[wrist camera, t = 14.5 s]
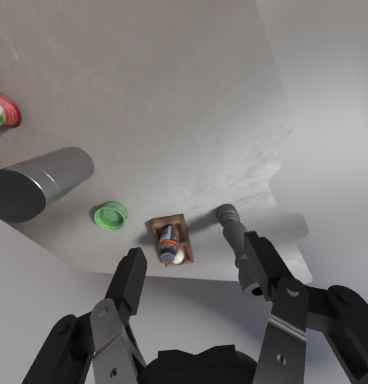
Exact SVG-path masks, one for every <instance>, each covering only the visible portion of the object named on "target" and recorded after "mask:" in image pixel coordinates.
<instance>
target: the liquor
mask: <svg viewBox="0 0 368 384" xmlns="http://www.w3.org/2000/svg"><path fill="white" fill-rule="evenodd" d="M20 119H21V116H20V112H19V110H18V108H17V106H16V105H15V103H14V102H13V101H12V100H11V99H10V98H8V97H7V96H5V95H3V94H1V93H0V126H2V125H5V126H10V127H14V126H16V125H18V124H19V122H20Z"/></svg>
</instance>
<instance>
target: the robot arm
mask: <svg viewBox="0 0 368 384" xmlns="http://www.w3.org/2000/svg"><path fill="white" fill-rule="evenodd" d="M93 171H94V165H93V162H92V160H91V158H90V157H89V156H88V154H86V153H85V152H84V151H82V150H81V149H79V148H75V147H66V148H63V149H60V150H57V151H54V152H51V153H48V154H45V155H42V156H39V157H36V158H33V159H30V160H27V161H24V162H21V163H18V164H15V165H12V166H9V167H6V168H3V169H0V220H3V221H7V222H13V223H20V222H26V221H28V220H31V219H32V218H34V217H36V216H37V215H38V214H40V213H41V212H42V211H44V210H45V209H46V208H48V207H49V206H51V205H52V204H53V203H55V202H56V201H57V200H59V199H60V198H61V197H63V196H64V195H66V194H67V193H68V192H70V191H71V190H72V189H74V188H75V187H77V186H78V185H79V184H81V183H82V182H84V181H85V180H86V179H88V178H89V177H90V176H91V175H92V174H93ZM244 249H245V253H246V256H247V258H248V260H249V263H250V265H251V267H252V270H253V272H254V274H255V277H256V279H257V281H258V284H259V286H260V288H261V291H262V293H263V295H264V298H265V300H266V301H272V303H273V305H272V309H271V314H270V316H269V319H268V322H267V327H266V331H265V335H264V339H263V343H262V347H261V352H260V355H259V359H258V363H257V362H256V361H255V360H254V359H252V358H251V357H250V356H248V355H246V354H244V353H242V352H240V351H236V350H235V345H223V346H215V347H212V348H210V349H208V350H206V351H204V352H202V353H199V354H197V355H193V354H190V353H187V352H183V351H179V350H166V351H158V358H156V359H155V360H153V361H152V362H150V363H149V364H148V365H146V362H145V360H144V358H143V356H142V354H141V352H140V350H139V348H138V345H137V342H136V339H135V337H134V334H133V331H132V329H131V326H130V323H129V318H130V316H132V315H136V314H137V309H138V305H139V300H140V296H141V291H142V287H143V283H144V279H145V274H146V270H147V260H146V258H145V256H144V253H143V251H142V249H141V248H140V247H138V248H131V249H130V250H129V252H128V255H127V256H124V257H123V259H122V260H121V261H120V262H119V264H118V267H117V270H116V272H115V274H114V276H113V279H112V281H111V284H110V286H109V289H108V291H107V293H106V296H105V298H104V299H103V300H101V301H100V302H99V303H97V304H96V306H95V307H94V308H93V310H92V311H91V312H89V313H87V314H85V315H82V316H80V317H78V318H77V317H76V316H74V315H72V314H70V315H67V316H65V317H63V318H62V319H60V320H59V321H58V322H57V323H56V324H55V326H54V327H53V328H52V330H51V332H50V333H49V335H48V337H47V339H46V341H45V343H44V344H43V346H42V348H41V350H40V351H39V353H38V355H37V357H36V359H35V360H34V362H33V364H32V366H31V368H30V369H29V371H28V373H27V375H26V377H25V378H24V380H23V382H22V384H84V383H85V379H86V376H87V373H88V370H89V367H90V364H91V361H92V363H93V370H94V377H95V383H96V384H304V372H305V359H306V345H307V338H306V328H309V329H313V330H316V331H320V332H323V334H324V336H325V338H326V340H327V341H328V343H329V344H330V347H331V348H332V350H333V352H334V353H335V355H336V357H337V359H338V360H339V362H340V364H341V366H342V368H343V369H344V371H345V373H346V375H347V376H348V378H349V380H350V382H351V383H352V384H368V304H367V303H366V302H365V301H364V299H363V298H362V297H360V295H358V294H357V293H356V292H354V291H353V290H351V289H349V288H347V287H344V286H340V285H333V286H330V287H329V288H328V290H325V289H319V288H314V287H309V286H307V285H304V284H303V283H302V282H301V281H299V280H297V279H295V278H294V276H293V275H292V274H291V272H290V271H289V269H288V268H287V266H286V265H285V263H284V262H283V260H282V258H281V257H280V255H278V252H277V251H276V249H275V248H274V246H273V245H272V243H271V242H270V241H269V240H268V239H266V238H265V237H260V238H259V237H258V235H257V233H256V232H255V231H249V232H244ZM94 352H96V354H95V355H94ZM93 355H94V356H93ZM92 358H93V359H92Z"/></svg>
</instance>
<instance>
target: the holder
mask: <svg viewBox="0 0 368 384" xmlns="http://www.w3.org/2000/svg"><path fill="white" fill-rule="evenodd" d="M169 224H172V225H175V226H177V227H178V229H179V249H180V250H181V251H182V252H183V254H184V258H183V260H182V262H180V263H179V264H174V263H172V262H171V263H165V262H164V263H165V266H173V265H181V264H188V263H194V259H193V253H192V249H191V244H190V240H189V236H188V232H187V228H186V224H185V220H184V216H183V214H178V215H172V216H166V217H160V218H154V219H152V220H151V223H150V226H151V229H152V231H153V234H154V237H155V239H156V242H157V245H158V247H159V242H160V237H161V232H162V228H163V227H164V226H166V225H169Z"/></svg>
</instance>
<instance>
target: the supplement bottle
mask: <svg viewBox="0 0 368 384" xmlns="http://www.w3.org/2000/svg"><path fill="white" fill-rule="evenodd" d="M158 251H159V254H160V255H161V256H160V259H161V261H163V262H165V263H171V262H173V261H174V260H175V256H176V255H177V254H178V251H179V229H178V227H177V226H175V225H172V224H169V225H166V226H164V227H163V228H162V232H161V237H160V242H159V248H158Z"/></svg>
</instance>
